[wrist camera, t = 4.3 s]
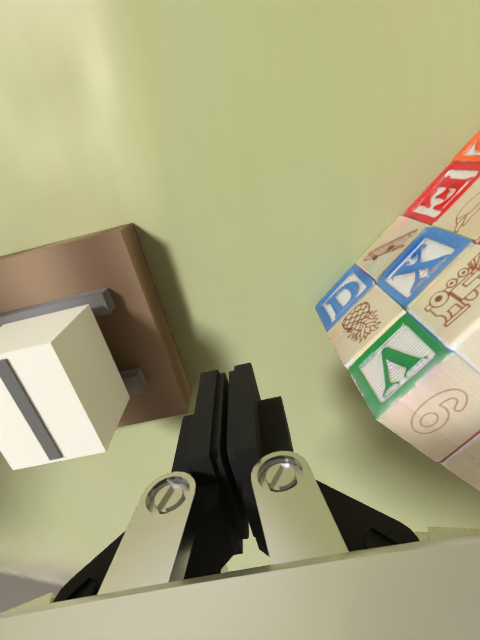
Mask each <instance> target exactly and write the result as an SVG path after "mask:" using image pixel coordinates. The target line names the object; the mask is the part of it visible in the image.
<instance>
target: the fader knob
mask: <svg viewBox="0 0 480 640" xmlns="http://www.w3.org/2000/svg"><path fill="white" fill-rule="evenodd" d="M129 398H130V396H129V394H128V392H127V390H126V387H125V385H124V383H123V380H122V378H121V376H120V374H119V371H118V369H117V367H116V365H115V362H114V360H113V358H112V355H111V353H110V351H109V349H108V346H107V344H106V342H105V339H104V337H103V335H102V333H101V330H100V328H99V326H98V324H97V321H96V319H95V317H94V314H93V312H92V310H91V308H90V305H89V304H87V305H83V306H79V307H75V308H71V309H66V310H62V311H58V312H54V313H50V314H45V315H41V316H37V317H33V318H28V319H24V320H20V321H16V322H12V323H7V324H4V325H2V326H1V327H0V451H1V453H2V454H3V456H4V457H5V459H6V460H7V462H8V463H9V465H10V466H11V468H12V469H13V470H17V469H22V468H27V467H32V466H37V465H42V464H47V463H52V462H57V461H62V460H67V459H72V458H77V457H82V456H87V455H92V454H97V453H102V452H106V450H107V448H108V446H109V444H110V441H111V439H112V437H113V435H114V432H115V430H116V428H117V426H118V423H119V421H120V419H121V416H122V414H123V412H124V410H125V407H126V405H127V403H128V401H129Z"/></svg>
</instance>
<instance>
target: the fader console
mask: <svg viewBox="0 0 480 640" xmlns="http://www.w3.org/2000/svg"><path fill="white" fill-rule="evenodd" d="M87 304H89V305H90V308H91V310H92V312H93V314H94V317H95V319H96V321H97V324H98V326H99V328H100V330H101V333H102V335H103V337H104V339H105V342H106V344H107V346H108V349H109V351H110V353H111V355H112V358H113V360H114V362H115V365H116V367H117V369H118V371H119V374H120V376H121V378H122V380H123V383H124V385H125V387H126V390H127V392H128V394H129V396H130V398H129V401H128V403H127V405H126V407H125V410H124V412H123V414H122V416H121V419H120V421H119V423H118V426H117V427H121V426H126V425H131V424H136V423H141V422H145V421H150V420H155V419H160V418H165V417H170V416H175V415H180V414H185V413H188V409H189V404H190V398H191V393H192V390H191V387H190V385H189V382H188V379H187V376H186V373H185V370H184V368H183V365H182V362H181V359H180V356H179V353H178V351H177V348H176V345H175V342H174V339H173V337H172V334H171V331H170V328H169V325H168V322H167V320H166V317H165V314H164V311H163V308H162V305H161V303H160V300H159V297H158V294H157V291H156V289H155V286H154V283H153V280H152V277H151V274H150V272H149V269H148V266H147V263H146V260H145V257H144V255H143V252H142V249H141V246H140V243H139V240H138V238H137V235H136V232H135V229H134V226H133V224H132V223H130V224H126V225H122V226H118V227H114V228H110V229H106V230H102V231H99V232H95V233H91V234H87V235H83V236H79V237H75V238H71V239H67V240H63V241H59V242H56V243H52V244H48V245H44V246H40V247H36V248H32V249H28V250H24V251H20V252H16V253H12V254H9V255H5V256H1V257H0V327H1V326H2V325H4V324H7V323H12V322H16V321H20V320H24V319H28V318H33V317H37V316H41V315H45V314H50V313H54V312H58V311H62V310H66V309H71V308H75V307H79V306H83V305H87Z"/></svg>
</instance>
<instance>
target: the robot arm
mask: <svg viewBox="0 0 480 640" xmlns="http://www.w3.org/2000/svg"><path fill="white" fill-rule="evenodd" d="M248 521H249V522H248ZM249 524H250V527H251V530H252V533H253V536H254V537H255V538H256V541H257V544H258V547H259V549H260V550H261V551H262V552H264V553H265V554H266V555H268V556H269V557H270V560H271V564H272V565H267V566H261V567H255V568H249V569H243V570H237V571H231V572H228V568H227V565H226V563H227V562H228V561H229V560H230V559H231V557H232V556H233V555H236V554H242V553H243V539H248V538H249ZM0 640H480V529H466V528H442V527H427V532H413V531H412V530H411V529H410V528H408V527H407V526H405V525H404V524H402V523H401V522H399V521H397V520H395V519H393V518H391V517H389V516H387V515H385V514H383V513H381V512H379V511H377V510H375V509H373V508H371V507H369V506H367V505H365V504H363V503H361V502H359V501H357V500H355V499H353V498H351V497H349V496H347V495H345V494H343V493H341V492H339V491H337V490H335V489H333V488H331V487H329V486H327V485H325V484H323V483H321V482H319V481H317V480H315V478H314V476H313V473H312V471H311V469H310V467H309V465H308V463H307V462H306V460H305V459H304V458H303V457H302V456H300V455H299V454H297V453H294V452H293V447H292V442H291V437H290V432H289V428H288V423H287V419H286V415H285V411H284V406H283V402H282V398H281V396H279V397H274V398H270V399H265V400H261V399H260V395H259V391H258V387H257V383H256V380H255V376H254V372H253V368H252V365H251V363H246V364H242V365H237V366H235V367H234V371H230V372H229V384H228V380H227V377H226V374H225V373H221V374H220V373H219V371H218V370H214V371H210V372H205V373H201V378H200V384H199V389H198V395H197V401H196V407H195V413H194V414H193V415H188V416H185V417H184V418H183V420H182V425H181V430H180V434H179V439H178V444H177V449H176V453H175V458H174V463H173V467H172V472H171V473H167V474H165V475H163V476H160V477H159V478H157V479H156V480H154V481H153V482H152V483H151V484H150V485H149V486H148V487H147V488H146V489H145V491H144V493H143V494H142V496H141V498H140V500H139V502H138V505H137V507H136V509H135V511H134V514H133V516H132V518H131V520H130V523H129V525H128V527H127V529H126V531H125V532H124V533H122V534H121V535H120V536H119V537H118V538H117V539H116V540H115V541H113V542H112V543H111V544H110V545H109V546H108V547H107V548H106V549H104V550H103V551H102V552H101V553H100V554H99V555H98V556H97V557H95V558H94V559H93V560H92V561H91V562H90V563H89V564H87V565H86V566H85V567H84V568H83V569H82V570H81V571H80V572H78V573H77V574H76V575H75V576H74V577H73V578H72V579H71V580H69V582H68V583H67V584H66V585H65V586H64V587H63V588H62V589H61V590H60V592H59V593H58V595H57V596H56V597H55V596H54V595H53V593H52V592H51V593H49V594H47V595H44V596H42V597H39V598H37V599H34V600H32V601H29V602H27V603H25V604H22V605H19V606H17V607H15V608H12V609H10V610H7V611H5V612H2V613H0Z"/></svg>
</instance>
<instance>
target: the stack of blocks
mask: <svg viewBox="0 0 480 640" xmlns="http://www.w3.org/2000/svg"><path fill="white" fill-rule="evenodd" d="M315 309H316V311H317V313H318V315H319V317H320V319H321V321H322V323H323V325H324V327H325V329H326V331H327V332H328V336H329V338H330V340H331V342H332V344H333V346H334V348H335V350H336V352H337V354H338V356H339V357H340V359H341V361H342V363H343V364H344V366H345V368H347V369H348V370H349V373H350V375H351V376H352V379H353V380H354V382H355V384H356V386H357V388H358V389H359V391H360V393H361V395H362V397H363V398H364V400H365V402H366V404H367V406H368V407H369V409H370V411H371V413H372V415H373V416H374V418H375V419H376V420H377V421H379V422H380V423H381V424H383V425H384V426H386V427H387V428H388V429H390V430H391V431H392V432H394V433H395V434H397V435H398V436H400V437H401V438H402V439H404V440H405V441H407V442H408V443H410V444H411V445H413V446H414V447H415V448H416V449H418V450H419V451H420V452H422V453H423V454H425V455H426V456H428V457H429V458H430V459H432V460H433V461H434V462H440V463H441V464H442V465H443V466H444V467H446V468H447V469H448V470H450V471H451V472H452V473H454V474H455V475H457V476H458V477H459V478H461V479H462V480H464V481H465V482H466V483H468V484H470V485H471V486H473V487H474V488H475V489H476V490H478V491H479V492H480V131H479V132H478V133H477V134H476V135H475V136H474V137H473V138H472V139H471V140H470V141H469V142H468V144H467V145H466V146H465V147H464V148H463V149H462V150H461V151H460V152H459V153H458V154H457V155H456V156H455V157H454V158H453V160H452V163H451V164H450V165H449V166H448V167H447V168H446V169H445V170H444V171H443V172H442V173H441V174H440V175H439V176H438V177H437V178H436V179H435V180H434V181H433V182H432V183H431V185H430V186H429V187H428V188H427V189H426V190H425V191H424V192H423V193H422V195H421V196H420V197H419V198H418V199H417V200H416V201H415V202H414V203H413V204H412V205H411V206H410V207H409V208H408V209H407V210H406V212H405V213H404V215H403V216H399V217H397V218H396V219H395V220H394V221H393V223H392V224H391V225H390V226H389V227H388V228H387V229H386V230H385V231H384V232H383V233H382V234H381V236H380V237H379V238H378V239H377V240H376V241H375V242H374V243H373V244H372V245H371V246H370V247H369V248H368V249H367V250H366V251H365V252H364V254H363V255H362V256H361V257H360V258H359V259H358V260H357V262H356V263H355V265H354V266H353V267H351V268H350V269H349V270H348V271H347V272H346V273H345V275H344V276H343V277H342V278H341V279H340V280H339V281H338V282H337V283H336V284H335V285H334V287H333V288H332V289H331V290H330V291H329V292H328V293H327V294H326V295H325V296H324V297H323V299H322V300H321V301H320V302H319V303H318V304H317V305H316V307H315Z"/></svg>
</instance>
